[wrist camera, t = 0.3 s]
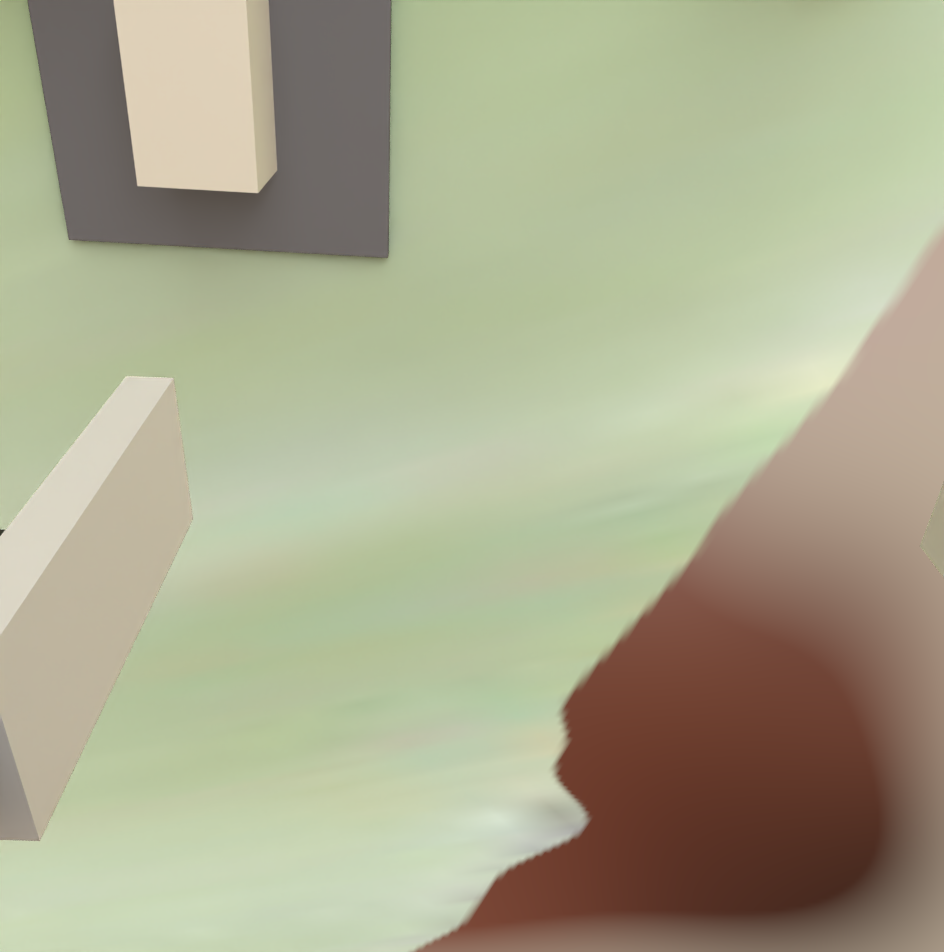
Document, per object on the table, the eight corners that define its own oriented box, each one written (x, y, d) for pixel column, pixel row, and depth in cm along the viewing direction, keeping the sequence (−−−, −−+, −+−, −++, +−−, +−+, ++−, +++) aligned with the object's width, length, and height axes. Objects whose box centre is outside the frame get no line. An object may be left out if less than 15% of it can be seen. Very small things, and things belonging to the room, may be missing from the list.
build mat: (8, -145, 33) (-54, -157, 29) (392, -119, 33) (382, -126, 29) (73, 236, 40) (30, 268, 36) (388, 254, 40) (380, 287, 36)
